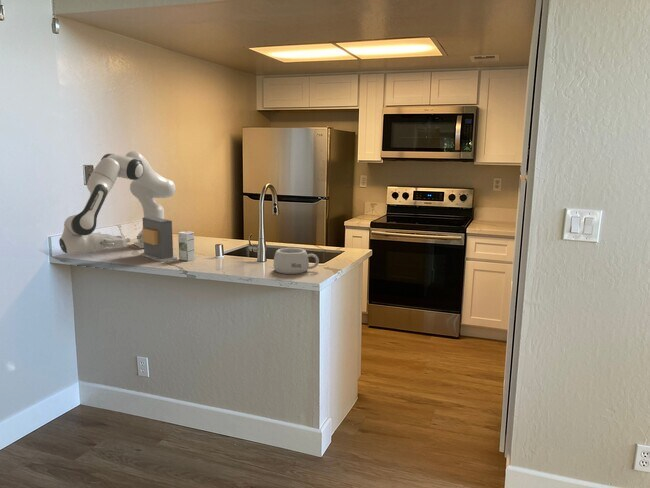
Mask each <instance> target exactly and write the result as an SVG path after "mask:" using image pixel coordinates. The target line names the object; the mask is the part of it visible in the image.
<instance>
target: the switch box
mask: <svg viewBox="0 0 650 488" xmlns="http://www.w3.org/2000/svg"><path fill="white" fill-rule="evenodd" d="M142 228H150V229H154V230H158V245H152V244H149V243H146V242H144V248H143V252H141V253H140V256H143V257H146V258H149V259H151V260H154V261H157V262H160V263H163V262H169V261H175V260H177V259H178V257H177V256H175V255H174V246H173V245H174V243H173V242H174V240H173V239H174V238H173V221H172V220H169V219H165V218H164V219H161V218H157V217H145V218H144V217H142Z"/></svg>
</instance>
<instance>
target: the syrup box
mask: <svg viewBox="0 0 650 488" xmlns="http://www.w3.org/2000/svg"><path fill="white" fill-rule="evenodd" d="M177 235H178V254H179V255H178V257H179V259H178V260H179V261H184V262H190V261H193V260H195V259H196V258H195V257H196V256H195V232H194V231H187V230H182V231H180V232H179V231H178V232H177Z"/></svg>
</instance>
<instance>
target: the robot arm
mask: <svg viewBox="0 0 650 488" xmlns="http://www.w3.org/2000/svg"><path fill="white" fill-rule="evenodd" d="M118 178H122V179H126V180H131V183H130V184H129V191H130V193H131V194H132V196H133V197H135V198H136V199H137V200H138V201H139V203H140V204H141V207H142V212H143V218H145V217H157V218H161V219H165V210H164V207H163V206H162V205H161V204H159V203H158V202H157V201H156V200H155V199H165V198H170V197H173V196H174V195H175V193H176V190H177V189H176V184H175V182H174V181H173V180H172V179H169V178H166V177H164V176H162V175H161V174H159V173H158V172H156V171H155V170H154V169H153V167H152V166H151V164H150V163H149V162H148V160H147V159H146V157H145V156H144V155H142V154H141V153H140V152H139V151H135V150H131V151H129V152H128V153H126V154H125V155H121V154H120V155H119V154H115V153H106V154H104V155H103V156H102V157H101V159H100V161H99V162H97V165H96V166H95V167H94V169H93V171H92V172H91V174H90V175H89V178H88V180H87V182H86V187H87V188H86V189H87V190H88V191H89V193H90V194H89V198H88V200H87V201H86V203H85V206H84V207H83V208H82V209H83V210H81V212H79V213H77V214H74V215H71V216H68V217H67V218H66V219H65V220H64V223H63V227H64V228H63V231H62V234H61V237H60V238H59V240H58V242H59V248H60V249H61V251H62V252H63V253H64V254H67V255H77V254H79V255H80V254H84V253H88V252H89V253H95V252H100V251H101V252H102V251H103V250H104V249H106V247H107V248H122V247H124V246H125V244H127V243H131V239H130V238H128V237H127V238H123V237H122V235H112V234H109V233H102V232H94V231H95V230H96V227H97V221H98V220H97V219H98V216H99V213H100V211H101V208H102V206H103V204H104V202H105V201H106V198H107V196H108V194H109V193H110V192H111V190H112V188H113V187H114V185H115V184H116V181H117V180H118ZM136 239H137V241H135V242H133V245H135V246H136V247H138V248H139V249H144V242H143V231H142V230H141V231H140V232H139V233H138V234H137V235H136Z"/></svg>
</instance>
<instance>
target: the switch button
mask: <svg viewBox="0 0 650 488" xmlns="http://www.w3.org/2000/svg"><path fill="white" fill-rule="evenodd" d="M141 231H143V242H146V243H149V244H152V245H158V230H154V229H150V228H143V227H142V228H141Z"/></svg>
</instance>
